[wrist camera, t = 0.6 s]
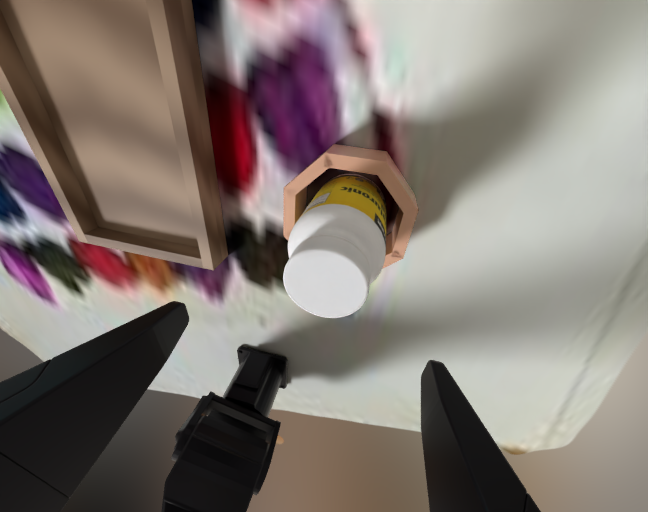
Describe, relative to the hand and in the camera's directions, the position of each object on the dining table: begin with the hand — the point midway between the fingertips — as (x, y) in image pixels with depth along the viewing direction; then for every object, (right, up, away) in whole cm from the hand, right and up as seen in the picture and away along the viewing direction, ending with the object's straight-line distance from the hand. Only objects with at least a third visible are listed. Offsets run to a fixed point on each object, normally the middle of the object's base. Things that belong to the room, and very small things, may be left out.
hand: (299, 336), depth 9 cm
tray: (-14, +13, +11) cm, 22 cm away
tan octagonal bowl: (+3, +7, +10) cm, 13 cm away
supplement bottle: (+3, +7, +11) cm, 13 cm away
